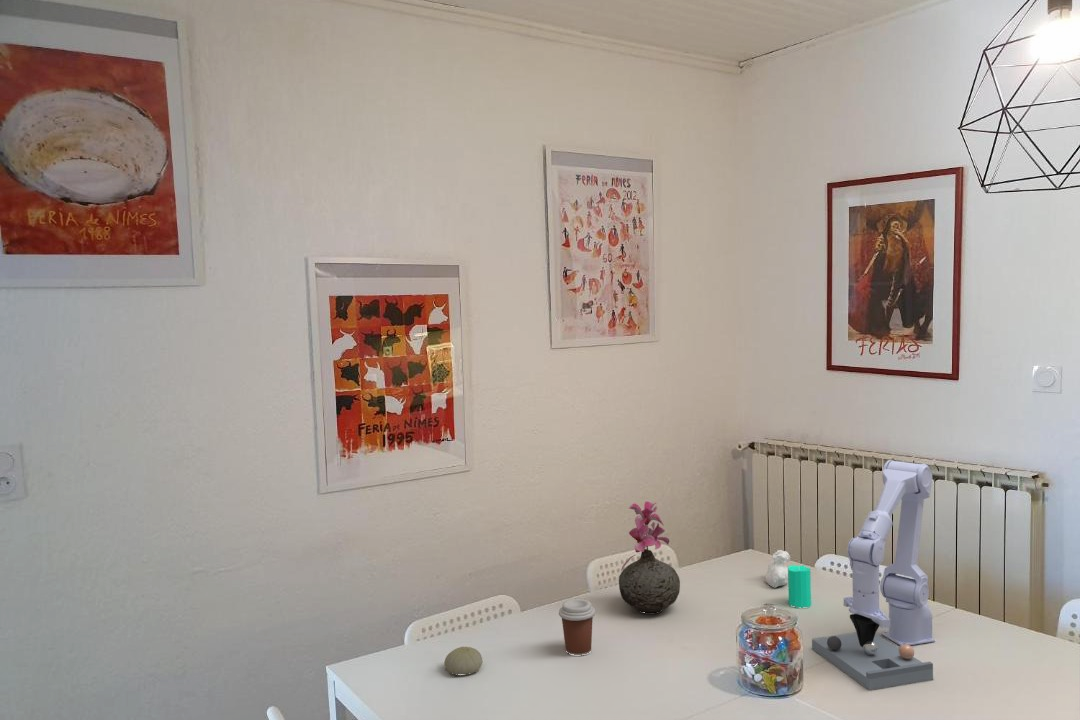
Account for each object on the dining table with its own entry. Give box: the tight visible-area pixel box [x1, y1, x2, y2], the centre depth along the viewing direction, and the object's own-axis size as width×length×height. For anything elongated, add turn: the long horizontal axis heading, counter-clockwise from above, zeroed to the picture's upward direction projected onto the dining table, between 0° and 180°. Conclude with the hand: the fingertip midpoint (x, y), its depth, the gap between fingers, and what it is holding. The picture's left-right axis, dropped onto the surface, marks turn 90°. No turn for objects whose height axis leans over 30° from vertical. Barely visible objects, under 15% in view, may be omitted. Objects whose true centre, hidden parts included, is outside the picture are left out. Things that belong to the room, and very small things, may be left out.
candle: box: [787, 564, 812, 608], centre depth 217 cm, size 6×6×12 cm
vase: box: [618, 501, 681, 614], centre depth 218 cm, size 17×18×30 cm
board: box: [811, 632, 934, 691], centre depth 181 cm, size 16×22×4 cm
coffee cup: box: [558, 598, 596, 655], centre depth 194 cm, size 9×9×12 cm
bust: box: [764, 549, 791, 589], centre depth 235 cm, size 12×8×11 cm
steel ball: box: [863, 641, 878, 655], centre depth 180 cm, size 3×3×3 cm
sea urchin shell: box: [444, 646, 483, 675], centre depth 187 cm, size 9×8×8 cm
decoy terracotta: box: [898, 644, 915, 659], centre depth 177 cm, size 3×3×3 cm
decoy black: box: [827, 635, 842, 650], centre depth 183 cm, size 3×3×3 cm
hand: (866, 646), depth 181 cm, fingers closed, pressing on steel ball
